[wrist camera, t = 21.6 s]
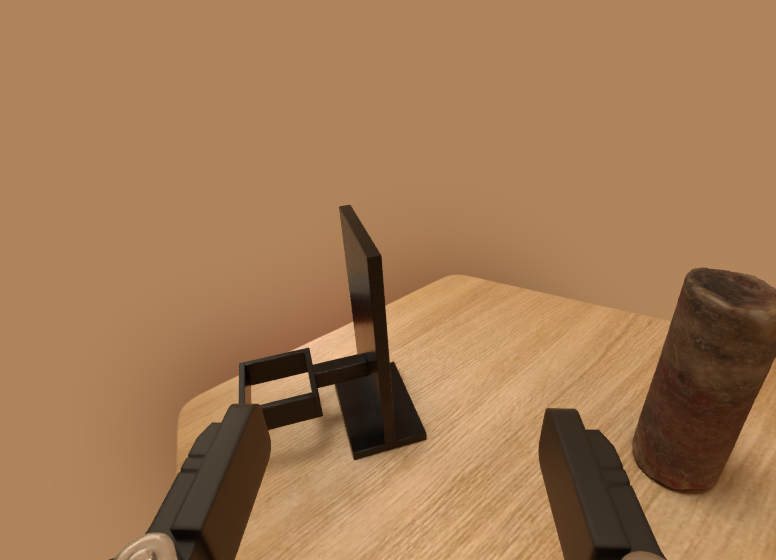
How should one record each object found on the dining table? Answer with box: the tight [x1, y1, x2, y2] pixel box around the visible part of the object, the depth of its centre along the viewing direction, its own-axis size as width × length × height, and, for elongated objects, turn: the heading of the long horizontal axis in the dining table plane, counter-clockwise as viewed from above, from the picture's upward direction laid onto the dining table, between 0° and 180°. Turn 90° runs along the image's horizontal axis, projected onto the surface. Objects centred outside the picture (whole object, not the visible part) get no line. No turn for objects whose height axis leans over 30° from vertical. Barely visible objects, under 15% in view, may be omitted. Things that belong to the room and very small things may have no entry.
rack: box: [239, 205, 426, 460], centre depth 44 cm, size 18×12×23 cm
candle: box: [633, 268, 776, 489], centre depth 38 cm, size 8×7×20 cm
